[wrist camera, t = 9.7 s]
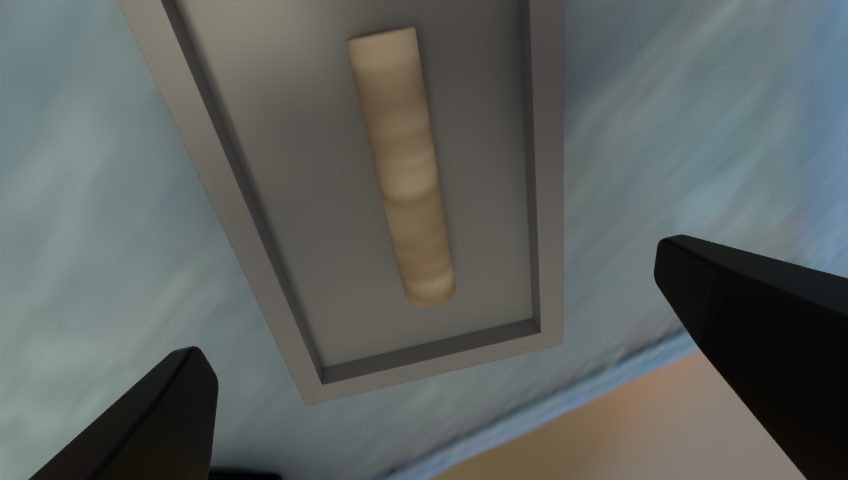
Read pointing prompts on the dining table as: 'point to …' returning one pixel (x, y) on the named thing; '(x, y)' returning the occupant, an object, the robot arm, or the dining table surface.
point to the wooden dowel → (404, 159)
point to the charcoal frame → (373, 174)
